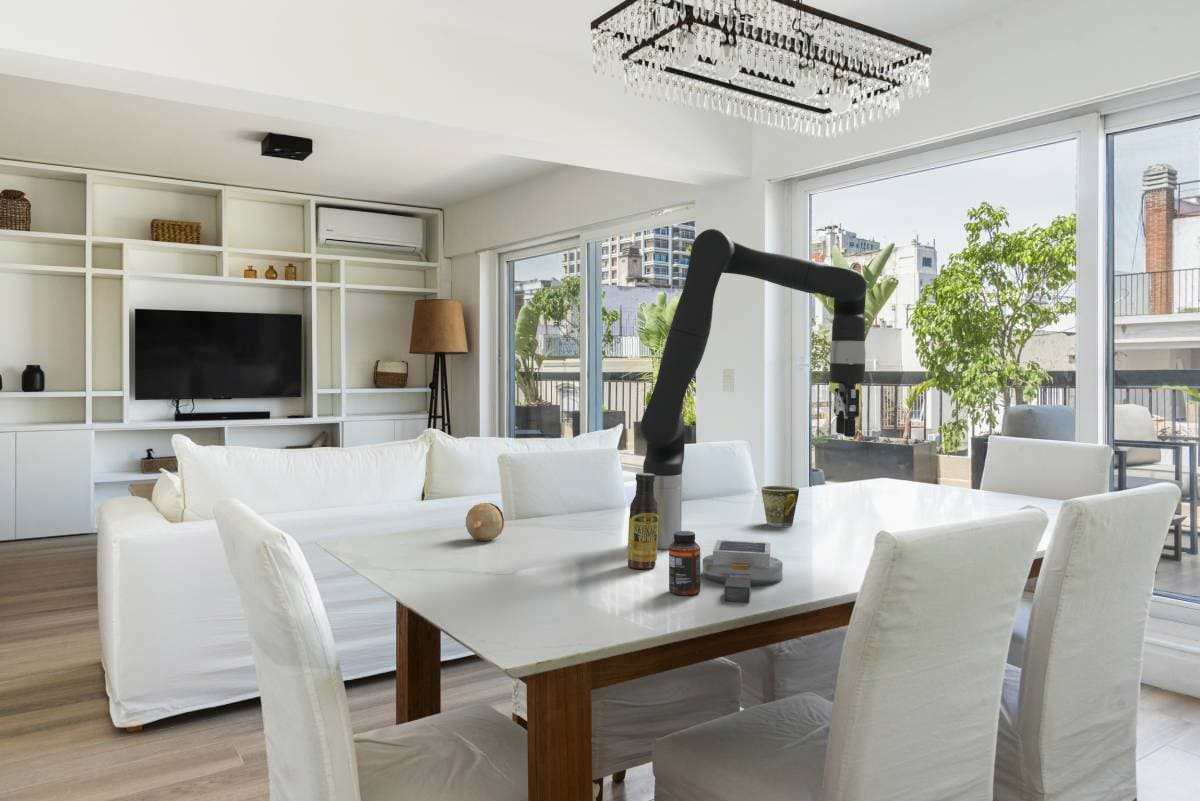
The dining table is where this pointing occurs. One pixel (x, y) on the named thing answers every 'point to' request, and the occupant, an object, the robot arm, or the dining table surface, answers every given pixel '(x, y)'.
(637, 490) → the sauce bottle
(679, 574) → the supplement bottle
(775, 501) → the ceramic cup
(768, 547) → the grey platform stand
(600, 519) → the dining table surface
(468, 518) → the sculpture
